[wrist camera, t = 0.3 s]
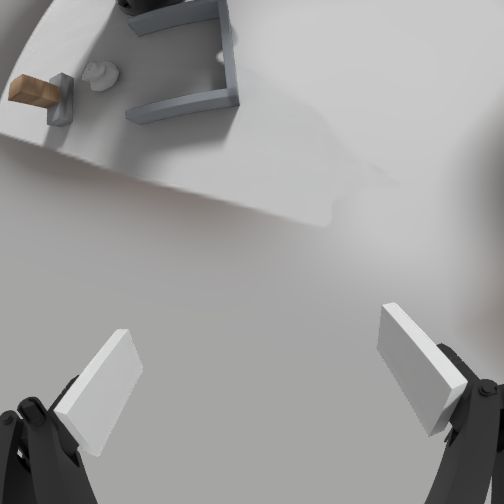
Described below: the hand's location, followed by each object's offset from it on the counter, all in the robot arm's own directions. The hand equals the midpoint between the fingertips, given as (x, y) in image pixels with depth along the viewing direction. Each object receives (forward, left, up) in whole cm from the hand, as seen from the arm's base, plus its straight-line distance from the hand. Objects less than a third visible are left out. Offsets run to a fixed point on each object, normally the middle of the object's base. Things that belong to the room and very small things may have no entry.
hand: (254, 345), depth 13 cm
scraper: (-28, -30, -28) cm, 50 cm away
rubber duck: (-29, -21, -28) cm, 46 cm away
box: (-28, -8, -28) cm, 40 cm away
